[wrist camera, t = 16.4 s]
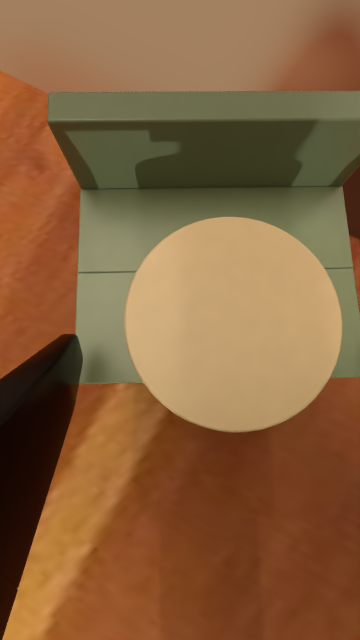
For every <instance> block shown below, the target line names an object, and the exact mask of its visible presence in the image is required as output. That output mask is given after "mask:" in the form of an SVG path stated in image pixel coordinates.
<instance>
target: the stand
mask: <svg viewBox="0 0 360 640" xmlns="http://www.w3.org/2000/svg"><path fill="white" fill-rule="evenodd" d="M47 123H48V125H49V127H50V129H51V131H52V133H53V135H54V137H55V139H56V140H57V142H58V144H59V146H60V148H61V150H62V152H63V154H64V156H65V158H66V160H67V162H68V164H69V166H70V168H71V170H72V172H73V174H74V176H75V178H76V180H77V182H78V184H79V186H80V187H81V191H80V216H79V241H78V267H77V272H78V274H77V294H76V320H75V335H77V336H78V339H79V342H80V346H81V350H82V354H83V364H82V370H81V375H80V381H79V384H106V383H143V382H142V380H141V379H140V377H139V375H138V373H137V372H136V370H135V368H134V365H133V363H132V360H131V358H130V356H129V352H128V348H127V344H126V340H125V331H124V310H125V303H126V297H127V294H128V291H129V287H130V284H131V282H132V280H133V277H134V275H135V273H136V271H137V270H138V268H139V266H140V265H141V263H142V261H143V260H144V259H145V258H146V256H147V255H148V254H149V253H150V251H151V250H152V249H153V248H154V247H155V246H157V245H158V244H159V243H160V242H161V241H162V240H163V239H165V238H166V237H168V236H169V235H170V234H172V233H173V232H175V231H177V230H179V229H181V228H183V227H185V226H187V225H190V224H192V223H195V222H198V221H202V220H206V219H210V218H218V217H241V218H249V219H253V220H258V221H262V222H265V223H267V224H270V225H273V226H275V227H277V228H279V229H281V230H283V231H285V232H287V233H288V234H290V235H291V236H293V237H294V238H296V239H297V240H299V241H300V242H301V243H302V244H303V245H304V246H306V247H307V248H308V249H309V250H310V251H311V252H312V253H313V254H314V256H315V257H316V258H317V259H318V260H319V262H320V263H321V264H322V266H323V267H324V269H325V270H326V272H327V274H328V276H329V277H330V279H331V281H332V283H333V286H334V288H335V291H336V293H337V296H338V300H339V304H340V308H341V316H342V341H341V347H340V352H339V356H338V359H337V363H336V365H335V368H334V370H333V372H332V374H331V377H330V378H347V377H360V316H359V308H358V301H357V294H356V286H355V279H354V271H353V269H352V268H353V262H352V255H351V248H350V240H349V233H348V225H347V218H346V210H345V203H344V195H343V188H342V185H343V183H344V182H345V181H346V180H347V179H348V178H349V177H350V176H351V175H352V173H353V172H354V171H355V170H356V169H357V168H358V167H359V166H360V91H242V92H241V91H240V92H239V91H238V92H237V91H235V92H234V91H232V92H231V91H227V92H50V93H49V95H48V111H47Z"/></svg>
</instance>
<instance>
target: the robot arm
mask: <svg viewBox="0 0 360 640" xmlns="http://www.w3.org/2000/svg"><path fill="white" fill-rule="evenodd" d="M82 364H83V354H82V350H81V346H80V342H79V339H78V336H77V335H75V334H63V335H61V336H59V337H58V338H57V339H55V340H54V341H53V342H51V343H50V344H48V345H47V346H46V347H44V348H43V349H41V350H40V351H39V352H37V353H36V354H35V355H33V356H32V357H30V358H29V359H28V360H26V361H25V362H24V363H22V364H21V365H19V366H18V367H17V368H15V369H14V370H12V371H11V372H10V373H8V374H7V375H6V376H4V377H3V378H1V379H0V640H2V638H3V635H4V632H5V629H6V626H7V622H8V619H9V616H10V613H11V610H12V606H13V603H14V600H15V597H16V594H17V588H18V586H19V583H20V580H21V577H22V574H23V571H24V567H25V564H26V561H27V558H28V555H29V551H30V548H31V545H32V542H33V539H34V535H35V532H36V529H37V526H38V523H39V519H40V516H41V513H42V510H43V507H44V504H45V500H46V497H47V494H48V491H49V488H50V484H51V481H52V478H53V475H54V472H55V468H56V465H57V462H58V459H59V456H60V452H61V449H62V446H63V443H64V440H65V436H66V433H67V430H68V427H69V424H70V421H71V417H72V414H73V411H74V407H75V402H76V397H77V392H78V386H79V381H80V375H81V370H82Z"/></svg>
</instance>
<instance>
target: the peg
mask: <svg viewBox="0 0 360 640" xmlns="http://www.w3.org/2000/svg"><path fill="white" fill-rule="evenodd" d="M124 331H125V340H126V344H127V348H128V352H129V356H130V358H131V360H132V363H133V365H134V368H135V370H136V372H137V373H138V375H139V377H140V379H141V380H142V382H143V383H144V385H145V386H146V387H147V389H148V390H149V391H150V392H151V394H152V395H153V396H154V397H155V398H156V399H157V400H158V401H159V402H160V403H161V404H162V405H164V406H165V407H166V408H168V409H169V410H170V411H171V412H173V413H174V414H176V415H178V416H179V417H181V418H183V419H185V420H186V421H188V422H191V423H193V424H196V425H198V426H201V427H204V428H208V429H212V430H216V431H223V432H251V431H257V430H262V429H266V428H269V427H272V426H275V425H278V424H280V423H282V422H284V421H286V420H288V419H290V418H292V417H293V416H295V415H296V414H298V413H299V412H301V411H302V410H303V409H304V408H305V407H307V406H308V405H309V404H310V403H311V402H312V401H313V400H314V399H315V398H316V397H317V395H318V394H319V393H320V392H321V391H322V389H323V388H324V386H325V385H326V383H327V382H328V380H329V378H330V377H331V374H332V372H333V370H334V368H335V365H336V363H337V359H338V356H339V352H340V347H341V341H342V316H341V308H340V304H339V300H338V296H337V293H336V291H335V288H334V286H333V283H332V281H331V279H330V277H329V276H328V274H327V272H326V270H325V269H324V267H323V266H322V264H321V263H320V262H319V260H318V259H317V258H316V257H315V256H314V254H313V253H312V252H311V251H310V250H309V249H308V248H307V247H306V246H304V245H303V244H302V243H301V242H300V241H299V240H297V239H296V238H294V237H293V236H291V235H290V234H288V233H287V232H285V231H283V230H281V229H279V228H277V227H275V226H273V225H270V224H267V223H265V222H262V221H258V220H253V219H249V218H241V217H218V218H210V219H206V220H202V221H198V222H195V223H192V224H190V225H187V226H185V227H183V228H181V229H179V230H177V231H175V232H173V233H172V234H170V235H169V236H168V237H166V238H165V239H163V240H162V241H161V242H160V243H159V244H158V245H157V246H155V247H154V248H153V249H152V250H151V251H150V253H149V254H148V255H147V256H146V258H145V259H144V260H143V261H142V263H141V265H140V266H139V268H138V270H137V271H136V273H135V275H134V277H133V280H132V282H131V284H130V287H129V291H128V294H127V297H126V303H125V310H124Z"/></svg>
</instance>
